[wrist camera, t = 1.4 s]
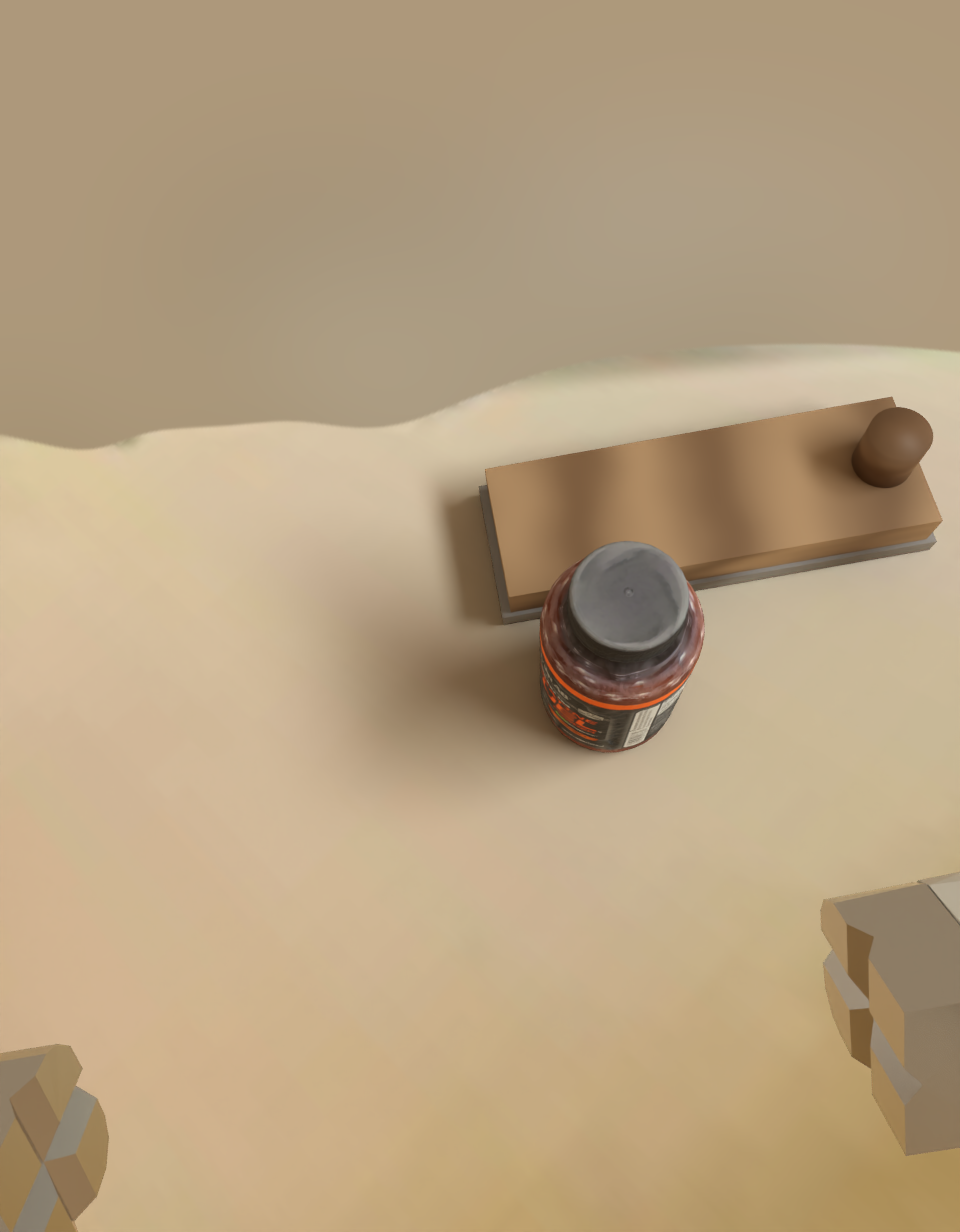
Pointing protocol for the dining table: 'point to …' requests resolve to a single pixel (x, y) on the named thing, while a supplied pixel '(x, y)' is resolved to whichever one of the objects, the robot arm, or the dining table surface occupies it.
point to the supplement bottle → (618, 645)
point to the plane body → (719, 501)
